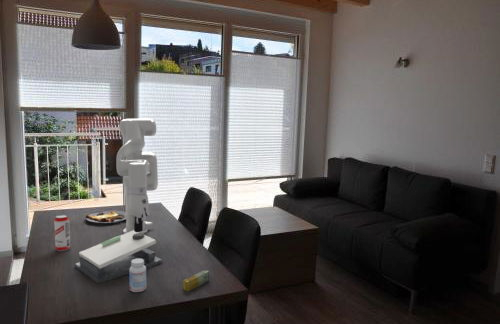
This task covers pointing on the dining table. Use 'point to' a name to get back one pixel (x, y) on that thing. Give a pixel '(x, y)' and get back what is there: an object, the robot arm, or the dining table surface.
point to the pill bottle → (137, 275)
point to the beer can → (62, 233)
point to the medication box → (195, 280)
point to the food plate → (106, 217)
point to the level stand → (117, 266)
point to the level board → (116, 248)
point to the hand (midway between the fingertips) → (138, 231)
